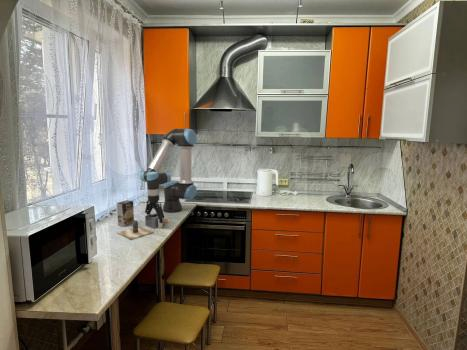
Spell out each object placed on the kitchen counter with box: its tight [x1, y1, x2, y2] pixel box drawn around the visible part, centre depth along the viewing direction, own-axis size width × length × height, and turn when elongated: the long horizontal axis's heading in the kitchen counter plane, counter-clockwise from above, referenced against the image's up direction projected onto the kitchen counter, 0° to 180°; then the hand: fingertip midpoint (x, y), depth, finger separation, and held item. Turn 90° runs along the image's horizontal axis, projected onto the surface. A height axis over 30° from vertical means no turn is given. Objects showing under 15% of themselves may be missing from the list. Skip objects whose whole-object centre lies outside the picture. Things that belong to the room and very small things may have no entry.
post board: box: [117, 220, 154, 241], centre depth 203 cm, size 16×16×8 cm
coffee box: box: [116, 200, 135, 227], centre depth 220 cm, size 9×6×16 cm
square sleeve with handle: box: [144, 212, 169, 230], centre depth 220 cm, size 14×9×7 cm, turn 137°
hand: (154, 225), depth 219 cm, fingers open, 12 cm apart
